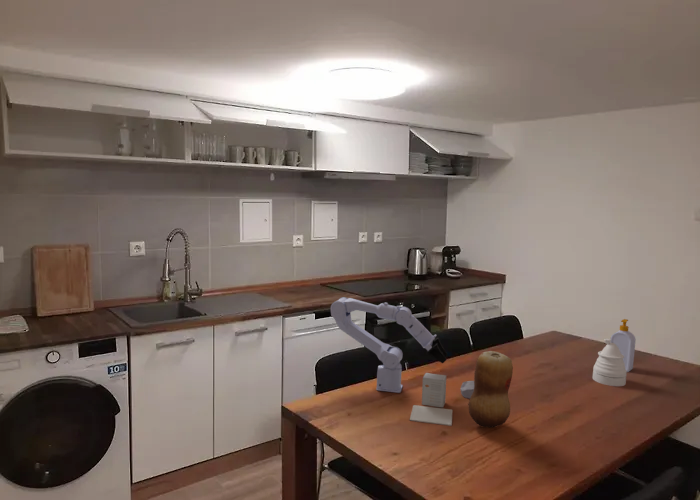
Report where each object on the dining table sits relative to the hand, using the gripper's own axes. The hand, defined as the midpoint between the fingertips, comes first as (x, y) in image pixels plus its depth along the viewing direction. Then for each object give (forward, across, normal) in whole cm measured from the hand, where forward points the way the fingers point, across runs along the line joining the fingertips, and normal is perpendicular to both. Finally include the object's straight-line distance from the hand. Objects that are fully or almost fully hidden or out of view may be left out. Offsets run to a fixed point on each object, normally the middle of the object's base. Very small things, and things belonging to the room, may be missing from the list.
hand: (445, 358), depth 197 cm
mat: (+8, -19, +13) cm, 25 cm away
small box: (+8, -8, +13) cm, 18 cm away
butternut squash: (+23, -21, +1) cm, 31 cm away
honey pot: (+59, +41, -36) cm, 81 cm away
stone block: (+18, +7, +4) cm, 20 cm away
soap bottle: (+66, +61, -43) cm, 100 cm away
